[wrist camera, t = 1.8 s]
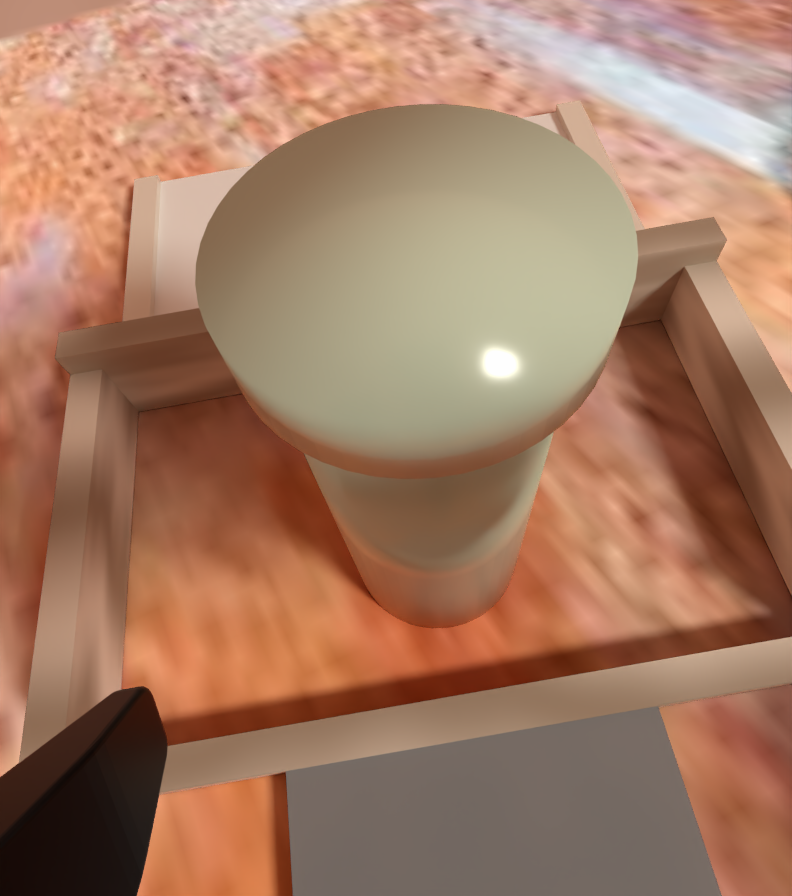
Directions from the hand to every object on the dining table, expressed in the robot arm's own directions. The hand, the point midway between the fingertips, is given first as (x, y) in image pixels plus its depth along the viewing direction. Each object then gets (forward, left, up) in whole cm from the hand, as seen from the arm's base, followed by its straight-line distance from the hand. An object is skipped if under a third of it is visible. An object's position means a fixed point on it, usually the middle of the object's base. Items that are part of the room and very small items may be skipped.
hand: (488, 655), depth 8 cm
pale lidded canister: (+5, +3, -12) cm, 13 cm away
